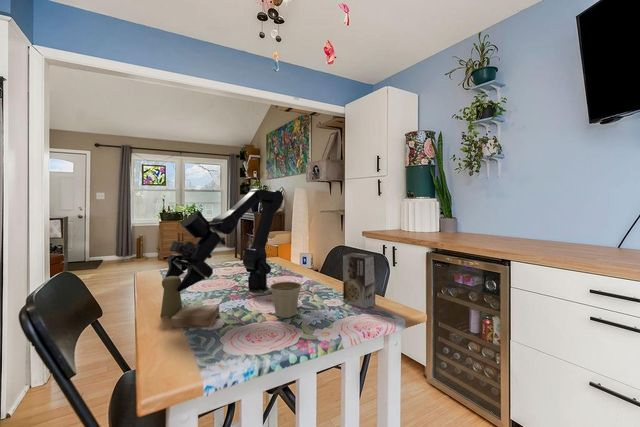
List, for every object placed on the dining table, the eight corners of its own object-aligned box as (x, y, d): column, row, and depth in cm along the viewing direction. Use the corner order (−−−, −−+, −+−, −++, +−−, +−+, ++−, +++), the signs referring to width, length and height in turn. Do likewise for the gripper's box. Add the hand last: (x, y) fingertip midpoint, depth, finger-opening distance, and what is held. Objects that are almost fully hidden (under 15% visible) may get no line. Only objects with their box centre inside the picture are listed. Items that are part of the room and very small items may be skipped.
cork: (174, 317, 87) (173, 279, 86) (155, 315, 88) (155, 278, 88) (187, 310, 93) (186, 274, 92) (170, 308, 94) (169, 273, 94)
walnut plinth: (219, 312, 91) (219, 304, 91) (210, 326, 81) (210, 316, 81) (184, 313, 90) (184, 305, 90) (171, 327, 80) (171, 317, 80)
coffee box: (376, 304, 99) (376, 255, 99) (364, 309, 94) (365, 257, 94) (353, 298, 105) (354, 252, 105) (342, 302, 101) (342, 254, 100)
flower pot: (275, 323, 83) (275, 292, 83) (265, 311, 92) (265, 283, 91) (306, 317, 88) (306, 287, 87) (294, 307, 96) (294, 280, 96)
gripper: (172, 229, 99) (136, 268, 91) (203, 233, 88) (164, 277, 79) (195, 250, 106) (163, 288, 97) (226, 256, 94) (193, 300, 86)
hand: (170, 288), depth 90 cm, fingers open, 9 cm apart
